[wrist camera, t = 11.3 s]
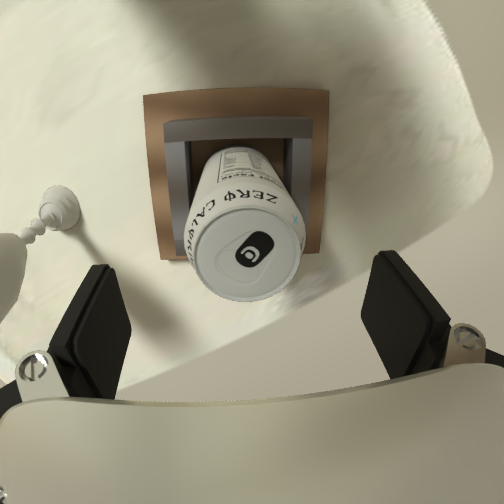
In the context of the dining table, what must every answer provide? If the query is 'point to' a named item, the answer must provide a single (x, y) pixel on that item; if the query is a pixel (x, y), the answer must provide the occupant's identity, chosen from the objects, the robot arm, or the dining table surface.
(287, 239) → the energy drink can
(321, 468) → the robot arm
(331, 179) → the dining table surface
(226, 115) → the socket block
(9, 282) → the chalice
